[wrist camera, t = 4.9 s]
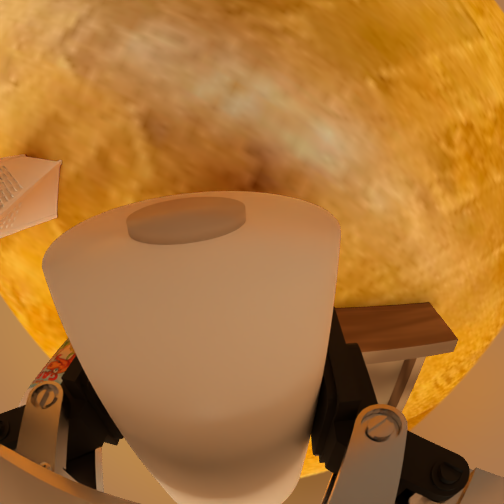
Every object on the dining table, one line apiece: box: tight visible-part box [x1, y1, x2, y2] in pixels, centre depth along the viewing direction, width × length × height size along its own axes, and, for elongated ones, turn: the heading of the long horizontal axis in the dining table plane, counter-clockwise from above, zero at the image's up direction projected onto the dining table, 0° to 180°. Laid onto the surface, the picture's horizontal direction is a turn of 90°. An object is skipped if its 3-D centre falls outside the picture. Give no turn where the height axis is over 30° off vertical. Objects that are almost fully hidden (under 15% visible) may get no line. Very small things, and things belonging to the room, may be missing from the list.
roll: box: [42, 191, 341, 504], centre depth 8 cm, size 10×6×6 cm, turn 2°
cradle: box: [315, 303, 458, 456], centre depth 23 cm, size 14×10×6 cm
